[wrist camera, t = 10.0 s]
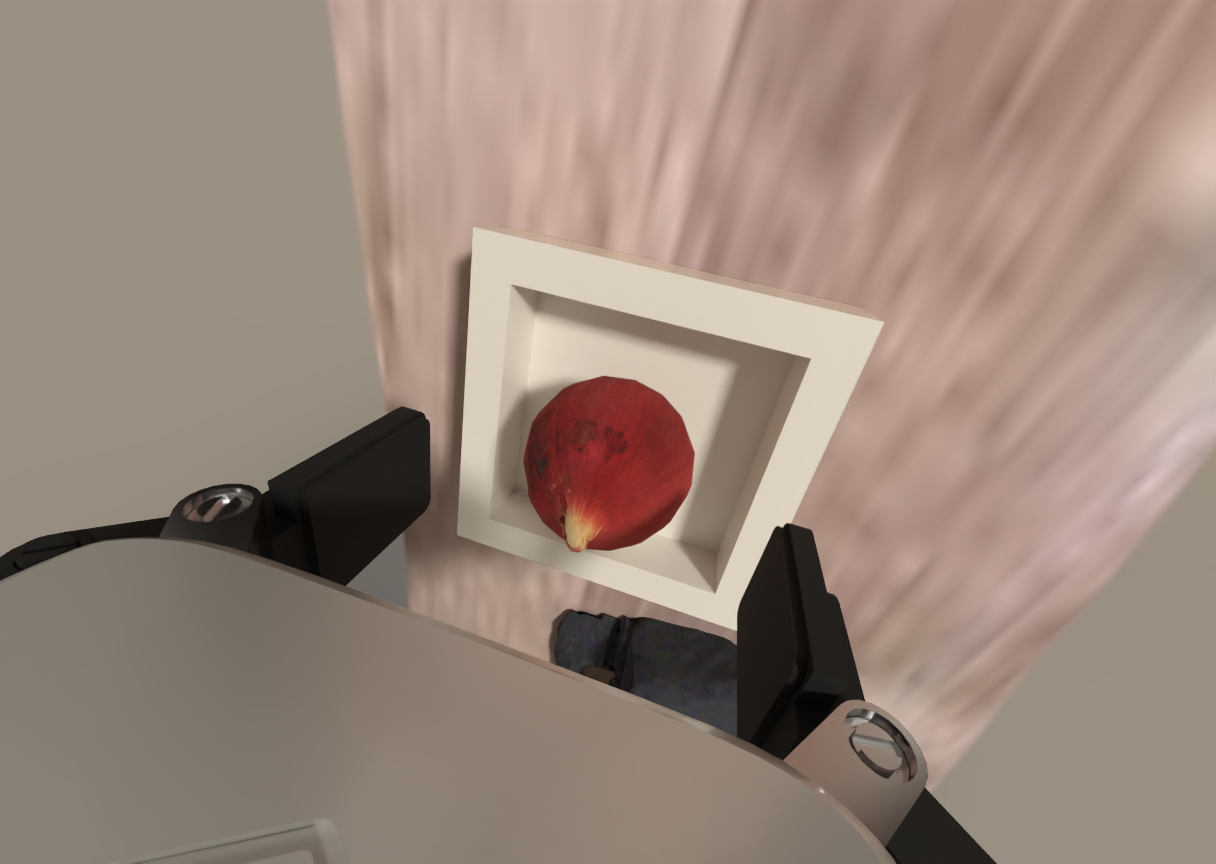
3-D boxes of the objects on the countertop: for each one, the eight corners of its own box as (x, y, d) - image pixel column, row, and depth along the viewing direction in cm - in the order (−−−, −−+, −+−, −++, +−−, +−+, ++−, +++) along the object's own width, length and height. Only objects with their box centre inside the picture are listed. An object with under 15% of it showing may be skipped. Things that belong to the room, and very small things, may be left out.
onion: (539, 414, 20) (432, 514, 13) (629, 323, 17) (557, 385, 10) (630, 504, 20) (576, 647, 13) (730, 430, 18) (728, 557, 11)
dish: (515, 228, 17) (473, 226, 15) (856, 306, 16) (884, 322, 13) (490, 498, 23) (457, 535, 20) (739, 579, 21) (740, 632, 18)
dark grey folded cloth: (546, 798, 34) (520, 877, 30) (566, 582, 25) (532, 653, 21) (749, 874, 32) (752, 973, 27) (858, 663, 22) (887, 764, 18)
